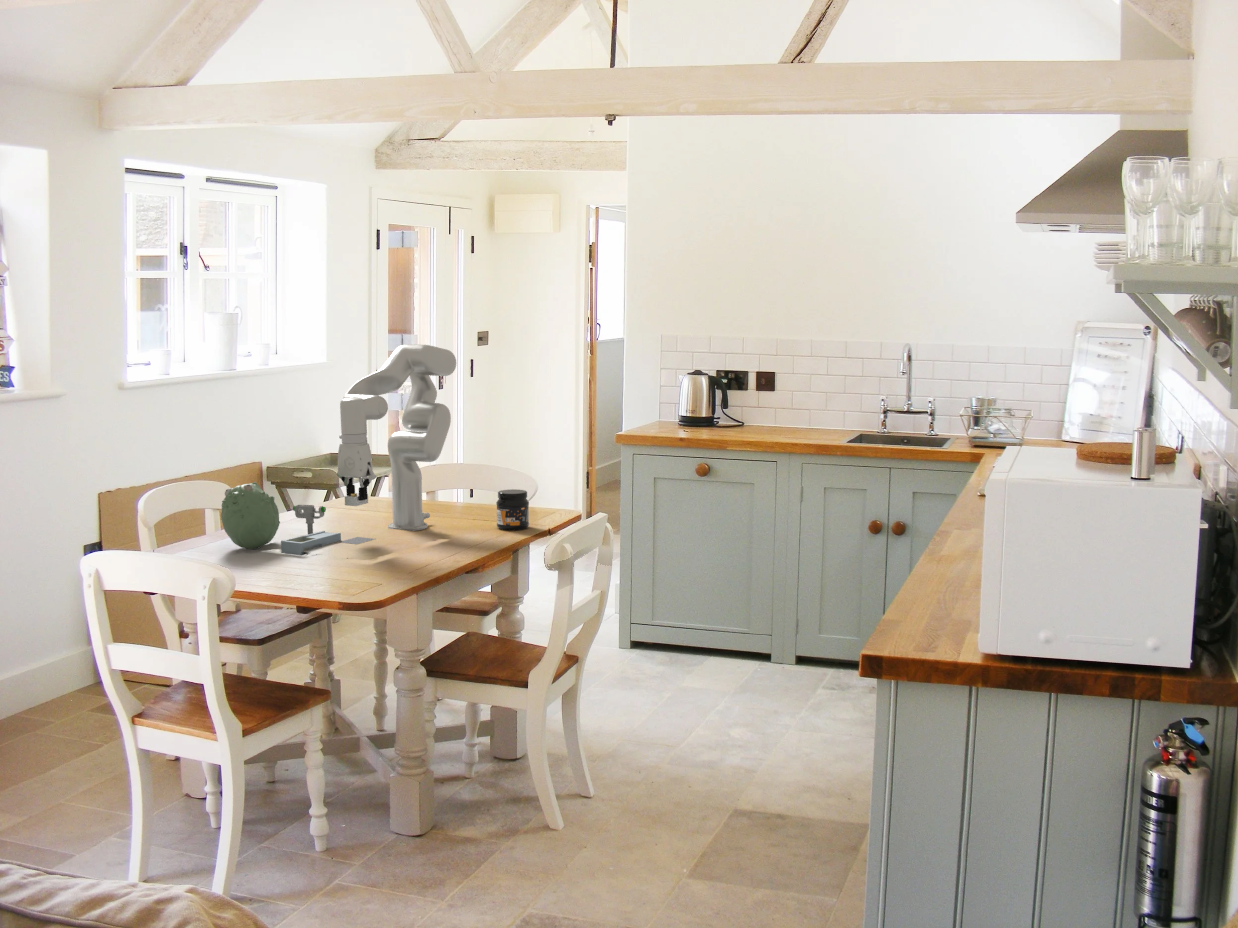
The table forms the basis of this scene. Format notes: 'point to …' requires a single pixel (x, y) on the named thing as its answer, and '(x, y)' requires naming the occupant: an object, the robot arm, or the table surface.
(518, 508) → the supplement container
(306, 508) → the mechanical component
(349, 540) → the flat grey plate
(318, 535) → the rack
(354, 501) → the grey small block
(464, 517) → the table surface
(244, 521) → the green rounded lump
